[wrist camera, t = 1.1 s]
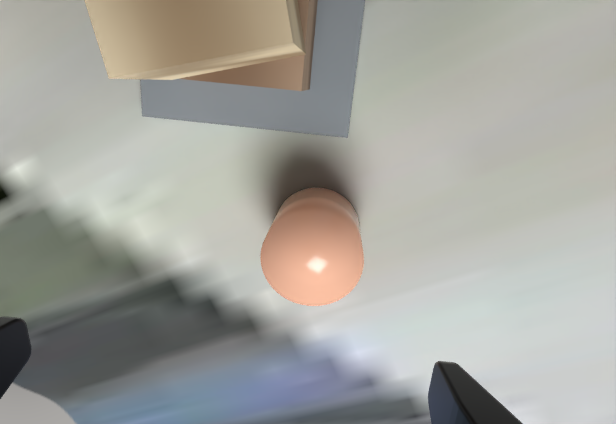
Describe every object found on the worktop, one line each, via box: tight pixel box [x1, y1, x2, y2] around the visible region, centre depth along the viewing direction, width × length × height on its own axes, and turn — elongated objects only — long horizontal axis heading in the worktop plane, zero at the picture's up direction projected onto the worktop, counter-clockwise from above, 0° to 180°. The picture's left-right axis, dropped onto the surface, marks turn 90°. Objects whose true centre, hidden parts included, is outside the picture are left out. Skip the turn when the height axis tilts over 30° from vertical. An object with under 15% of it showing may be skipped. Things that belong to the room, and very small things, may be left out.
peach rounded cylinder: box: [261, 187, 364, 306], centre depth 18 cm, size 4×4×4 cm
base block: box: [179, 0, 318, 91], centre depth 15 cm, size 6×6×4 cm
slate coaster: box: [140, 0, 365, 138], centre depth 17 cm, size 10×10×1 cm
